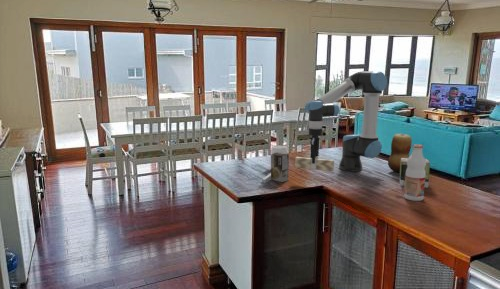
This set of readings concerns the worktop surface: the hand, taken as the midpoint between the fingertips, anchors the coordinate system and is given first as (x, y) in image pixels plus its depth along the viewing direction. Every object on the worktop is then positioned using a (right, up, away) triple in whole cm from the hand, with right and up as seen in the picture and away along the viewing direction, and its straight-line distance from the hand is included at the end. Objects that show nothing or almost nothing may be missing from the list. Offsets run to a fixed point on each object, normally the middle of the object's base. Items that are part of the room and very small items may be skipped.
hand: (314, 167), depth 221 cm
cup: (-18, -3, +37) cm, 41 cm away
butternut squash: (+60, -5, +28) cm, 66 cm away
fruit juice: (+47, -14, -24) cm, 55 cm away
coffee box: (-20, -8, +10) cm, 23 cm away
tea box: (+57, -10, 0) cm, 58 cm away
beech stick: (0, -1, 0) cm, 1 cm away
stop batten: (-26, -7, +12) cm, 29 cm away
